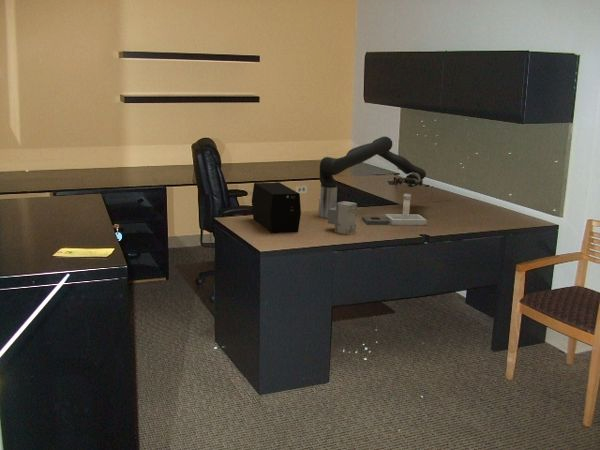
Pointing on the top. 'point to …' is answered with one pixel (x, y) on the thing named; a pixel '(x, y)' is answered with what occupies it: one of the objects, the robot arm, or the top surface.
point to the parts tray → (397, 219)
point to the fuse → (406, 206)
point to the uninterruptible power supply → (276, 207)
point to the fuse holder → (375, 220)
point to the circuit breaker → (343, 217)
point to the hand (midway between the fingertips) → (407, 183)
